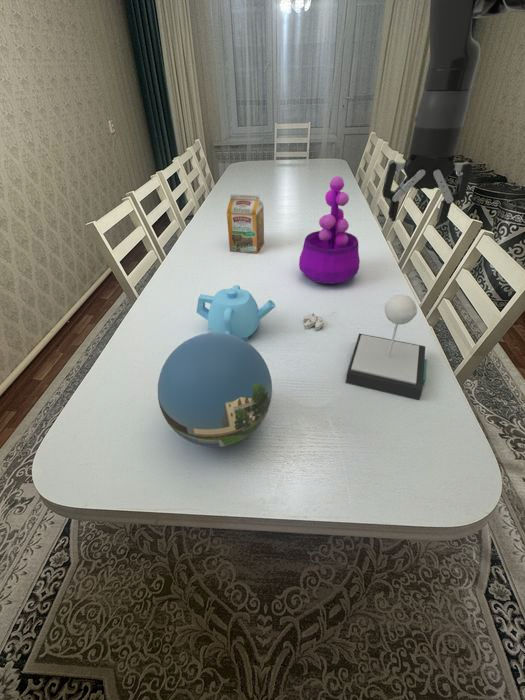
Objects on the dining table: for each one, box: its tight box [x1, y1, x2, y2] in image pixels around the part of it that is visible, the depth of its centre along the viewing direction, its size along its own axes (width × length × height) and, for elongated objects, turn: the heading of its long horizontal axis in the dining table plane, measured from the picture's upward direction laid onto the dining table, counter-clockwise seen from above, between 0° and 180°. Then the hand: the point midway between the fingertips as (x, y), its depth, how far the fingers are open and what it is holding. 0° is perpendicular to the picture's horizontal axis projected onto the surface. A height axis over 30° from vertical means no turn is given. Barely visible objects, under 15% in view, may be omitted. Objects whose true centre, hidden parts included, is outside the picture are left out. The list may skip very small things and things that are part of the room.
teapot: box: [196, 284, 276, 341], centre depth 90 cm, size 20×17×12 cm
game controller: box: [302, 311, 335, 331], centre depth 96 cm, size 6×12×3 cm, turn 145°
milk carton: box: [226, 193, 265, 255], centre depth 131 cm, size 11×10×19 cm
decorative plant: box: [298, 176, 360, 284], centre depth 107 cm, size 19×18×30 cm
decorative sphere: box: [157, 332, 273, 448], centre depth 63 cm, size 20×20×20 cm
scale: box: [345, 333, 428, 401], centre depth 79 cm, size 16×15×4 cm
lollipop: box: [384, 294, 418, 357], centre depth 74 cm, size 6×6×15 cm
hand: (415, 221), depth 70 cm, fingers open, 8 cm apart
